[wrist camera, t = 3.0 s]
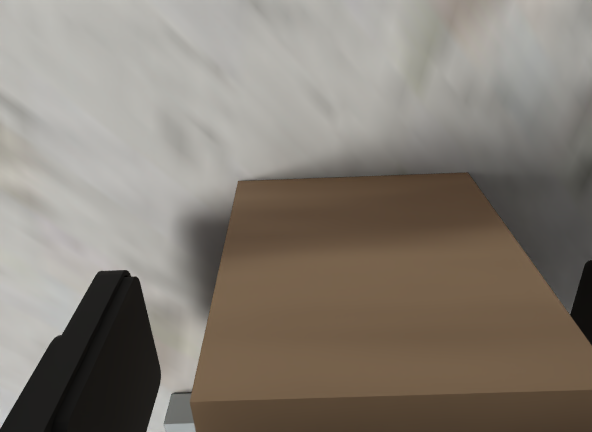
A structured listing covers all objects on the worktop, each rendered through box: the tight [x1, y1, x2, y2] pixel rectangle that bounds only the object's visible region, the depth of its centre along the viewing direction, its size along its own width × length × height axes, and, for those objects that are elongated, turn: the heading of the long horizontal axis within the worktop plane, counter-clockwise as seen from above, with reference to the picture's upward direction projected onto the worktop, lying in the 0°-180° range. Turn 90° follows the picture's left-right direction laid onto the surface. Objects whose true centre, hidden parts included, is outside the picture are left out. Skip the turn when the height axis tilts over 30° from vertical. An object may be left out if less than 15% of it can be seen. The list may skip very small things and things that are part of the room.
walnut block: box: [190, 173, 592, 432], centre depth 10 cm, size 5×5×6 cm
